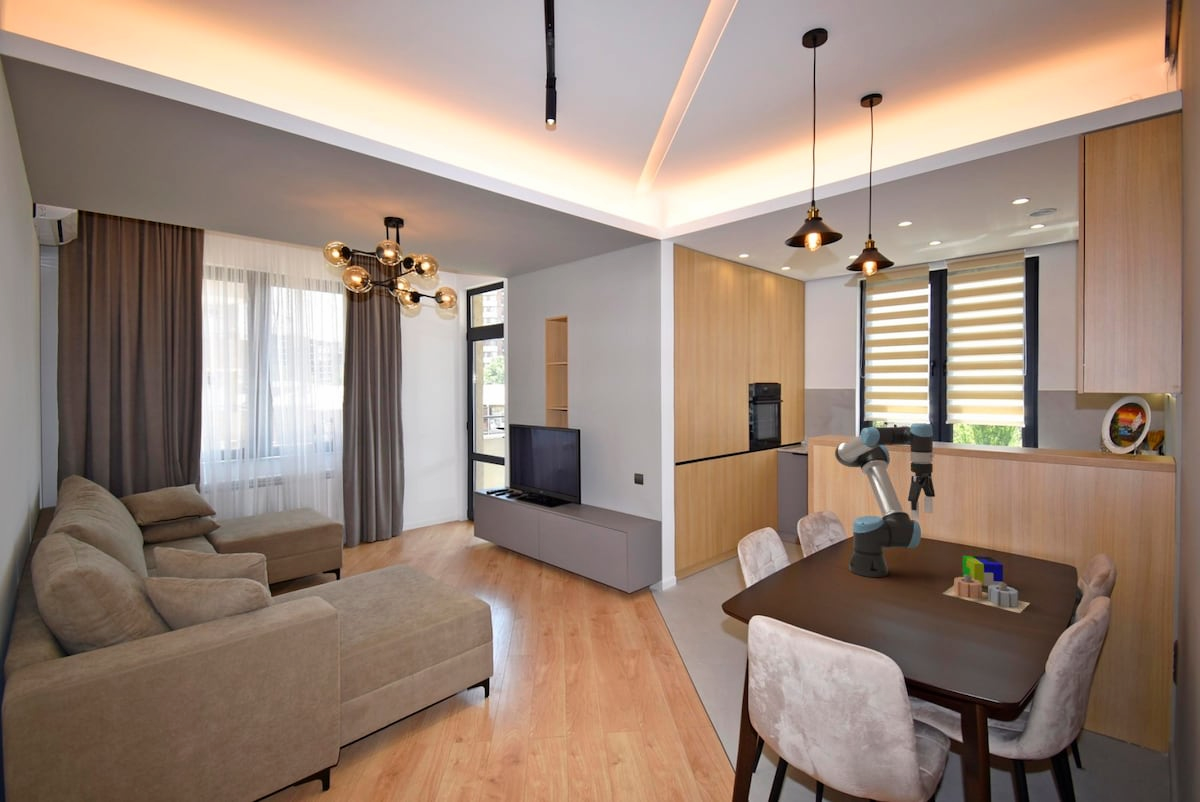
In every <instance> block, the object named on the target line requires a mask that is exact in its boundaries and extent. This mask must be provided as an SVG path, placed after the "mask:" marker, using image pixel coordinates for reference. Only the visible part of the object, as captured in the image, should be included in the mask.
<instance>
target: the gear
mask: <svg viewBox="0 0 1200 802" xmlns="http://www.w3.org/2000/svg"><path fill="white" fill-rule="evenodd" d="M987 593H988V600H989V602H991V603H992V604H995V605H1000V606H1002V607H1017V606H1018V600H1019V591H1018V590H1017V589H1015V588H1013V587H1011V586H1007V591H1001V590H999V585H997V586H996V585H989V586H987Z"/></svg>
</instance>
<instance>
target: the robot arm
mask: <svg viewBox="0 0 1200 802" xmlns="http://www.w3.org/2000/svg"><path fill="white" fill-rule="evenodd" d="M933 439H934V432H933V426H932V424H929V423H912V424H911V425H910V426H907V425H906V426H904V425H903V426H894V427H893V426H885V427H884V426H883V427H873V426H870V427H863V428H862V429H861V431H860V434H859V436H857V437H855V438H854V439H852V440H850V441H845V442H842V443H841V444H839V445H838V446H837V447H836V449H835V450H834V451H835V452H834V454H835V455H834V456H835V459H836V460H837V462H839V463H840V464H841V465H842V466H845V467H848V468H860V469H861V472H862V473H863V474H864V475H866V476H867V478H868V481H869V484H870V487H871V490H872V492H873V494H874V498H875V500H876V503H877V505H878V508H879V510H880V513H881V516H882V517H880V516H873V515H872V516H871V515H867V516H865V515H864V516H860V517H857V518H856V519H854V520H853V526H852V536H853V538H852V539H853V542H852V543H853V545H852V546H853V547H852V548H853V550H852V551H853V553H852V556H851V559H850V561H849V564H848V570H849V571H850V572H852V574H855V575H859V576H863V577H867V578H868V577H870V578H883V577H887V576H888V575H889V568H888V565H887V562H886V558H885V557H884V549H910V548H911V549H912V548H916V547H918V546H919V544H920V542H921V538H922V530H921V525H920V524H919V522H918V521H917V520H919V519H920V502H919V498H920V495H921V493H922V492H921V491H922V490H923V493H924V498H923V500H924V501H923V503H924V504H923V506H924V507H923V508H924V509H923V511H924V513H928V514H933V498H935V497H936V494H935V489H934V484H933V479H932V473H933V471H934V469H933V467H934V465H933V458H934V454H933V448H934V447H933V446H934V445H933V442H934V441H933ZM887 446H910V461H911V462H910V472H912V473H914V475H911V477H910V478H911V482H910V487H909V490H908V491H909V493H908V497H907V501H908V502H910V514H909V513H907V512H905V511H904V509H903V507H902V505H901V503H900V500H899V498H898V496H897V493H896V491H895V487H894V486H893V483H892V481H891V478H890V475H889V474H888V470H887V469H888V466H889V464H890V462H891V461H890V460H891V459H890V452H889V449H888V448H887ZM915 519H916V520H915Z"/></svg>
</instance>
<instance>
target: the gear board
mask: <svg viewBox="0 0 1200 802" xmlns="http://www.w3.org/2000/svg"><path fill="white" fill-rule="evenodd" d="M964 582H967V583H972V576H970V575H964ZM1007 587H1008V585H1007V583H1006V582H1003V583H1002V582H999V590H1001V591H1007ZM941 593H942V594H943V595H946V596H950V597H953V598H954V597H955V598H957V599H961V600H966V601H969V602H974V603H978V604H980V605H981V604H983V605H986V606H989V607H993V608H998V609H1000V610H1005V611H1010V612H1014V613H1017V614H1021V613H1022V612H1023V611H1024V610H1025V609H1026V608H1027V607H1028V606H1029V605H1030V604H1031V603H1030V602H1026V601H1022V600H1019V599H1018V606H1017V607H1002V606H1000V605H995V604H992V603H991V602H989V600H988V592H986V591H982V597H981V598H970V597H968V598H966V597H962V596H960V595H957V594H956V593H954V585H952V586H951V587H949V588H948V589H946V590H945V591H943V592H941Z"/></svg>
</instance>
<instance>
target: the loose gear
mask: <svg viewBox="0 0 1200 802" xmlns="http://www.w3.org/2000/svg"><path fill="white" fill-rule="evenodd" d="M953 586H954V593H956V594H957V595H960V596H962V597H966V598H968V597H970V598H981V597H982V592H983V588H982V587H983V586H982V582H980V581H978V580H975V579H972V583H967V582H964V577H963V576H958V577H957V576H956V577H955V578H954V579H953Z"/></svg>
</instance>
